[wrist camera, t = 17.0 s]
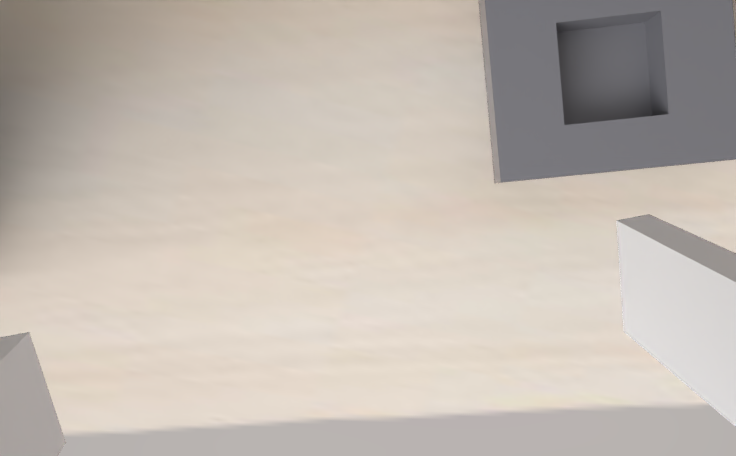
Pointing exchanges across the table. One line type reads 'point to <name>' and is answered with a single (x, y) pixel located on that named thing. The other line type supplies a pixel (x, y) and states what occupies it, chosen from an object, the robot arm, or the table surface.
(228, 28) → the table surface
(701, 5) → the socket
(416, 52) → the table surface
